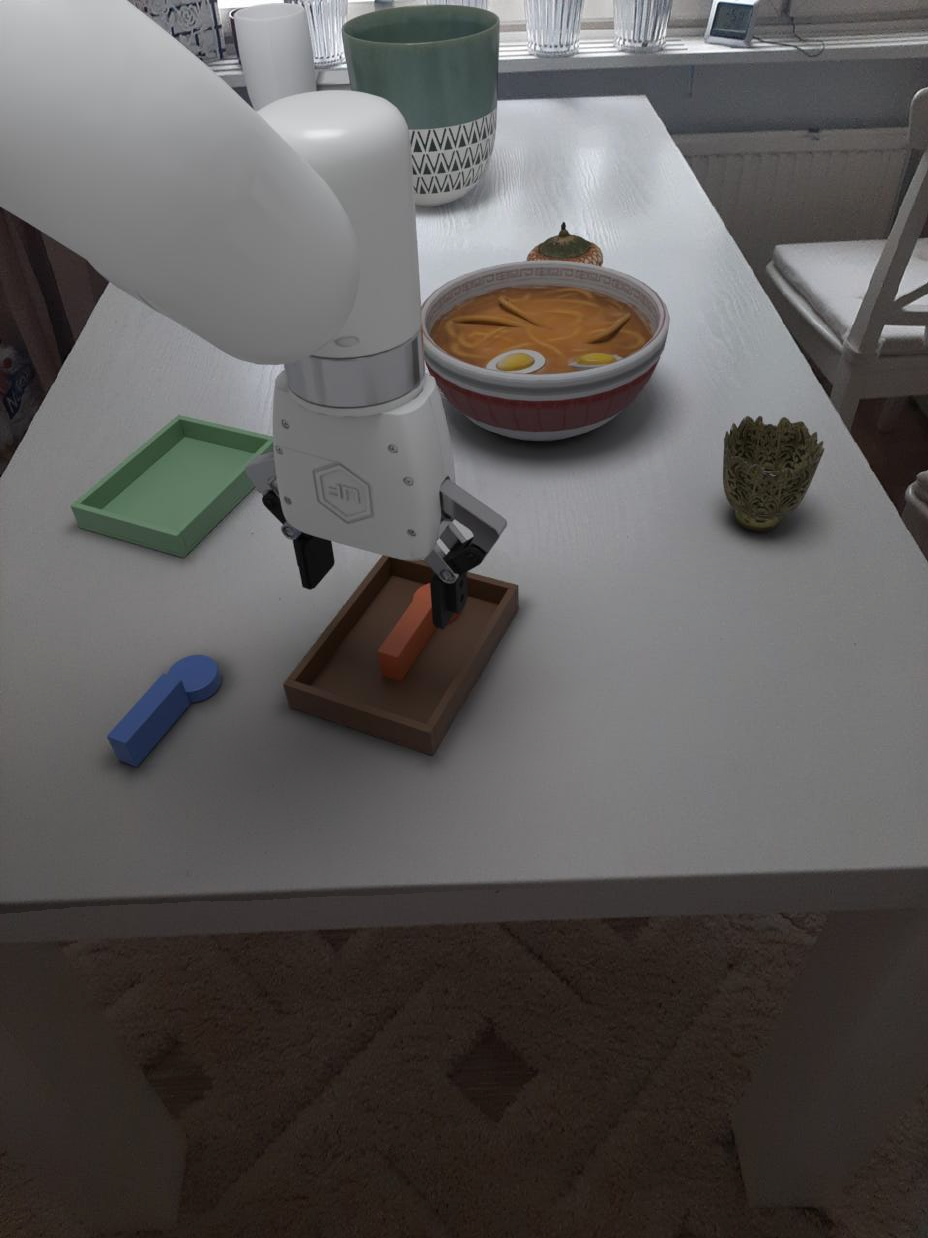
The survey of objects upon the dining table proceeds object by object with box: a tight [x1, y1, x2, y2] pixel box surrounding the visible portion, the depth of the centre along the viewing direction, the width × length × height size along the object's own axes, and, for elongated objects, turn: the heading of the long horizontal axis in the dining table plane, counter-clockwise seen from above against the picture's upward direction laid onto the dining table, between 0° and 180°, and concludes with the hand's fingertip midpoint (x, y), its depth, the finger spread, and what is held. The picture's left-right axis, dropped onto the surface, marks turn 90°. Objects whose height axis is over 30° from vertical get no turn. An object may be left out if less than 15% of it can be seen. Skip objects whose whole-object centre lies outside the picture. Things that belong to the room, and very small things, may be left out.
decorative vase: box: [722, 415, 825, 533], centre depth 75 cm, size 8×7×8 cm
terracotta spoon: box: [378, 583, 460, 682], centre depth 68 cm, size 10×4×3 cm, turn 156°
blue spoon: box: [106, 654, 222, 768], centre depth 64 cm, size 10×4×3 cm, turn 156°
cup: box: [233, 2, 317, 111], centre depth 132 cm, size 10×10×22 cm
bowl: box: [421, 260, 671, 442], centre depth 88 cm, size 23×23×10 cm
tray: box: [282, 555, 520, 756], centre depth 68 cm, size 15×11×2 cm
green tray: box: [70, 414, 274, 559], centre depth 83 cm, size 15×11×2 cm
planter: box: [341, 4, 501, 207], centre depth 124 cm, size 20×20×21 cm
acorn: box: [525, 221, 604, 267], centre depth 102 cm, size 8×8×10 cm
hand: (382, 595), depth 62 cm, fingers open, 9 cm apart
